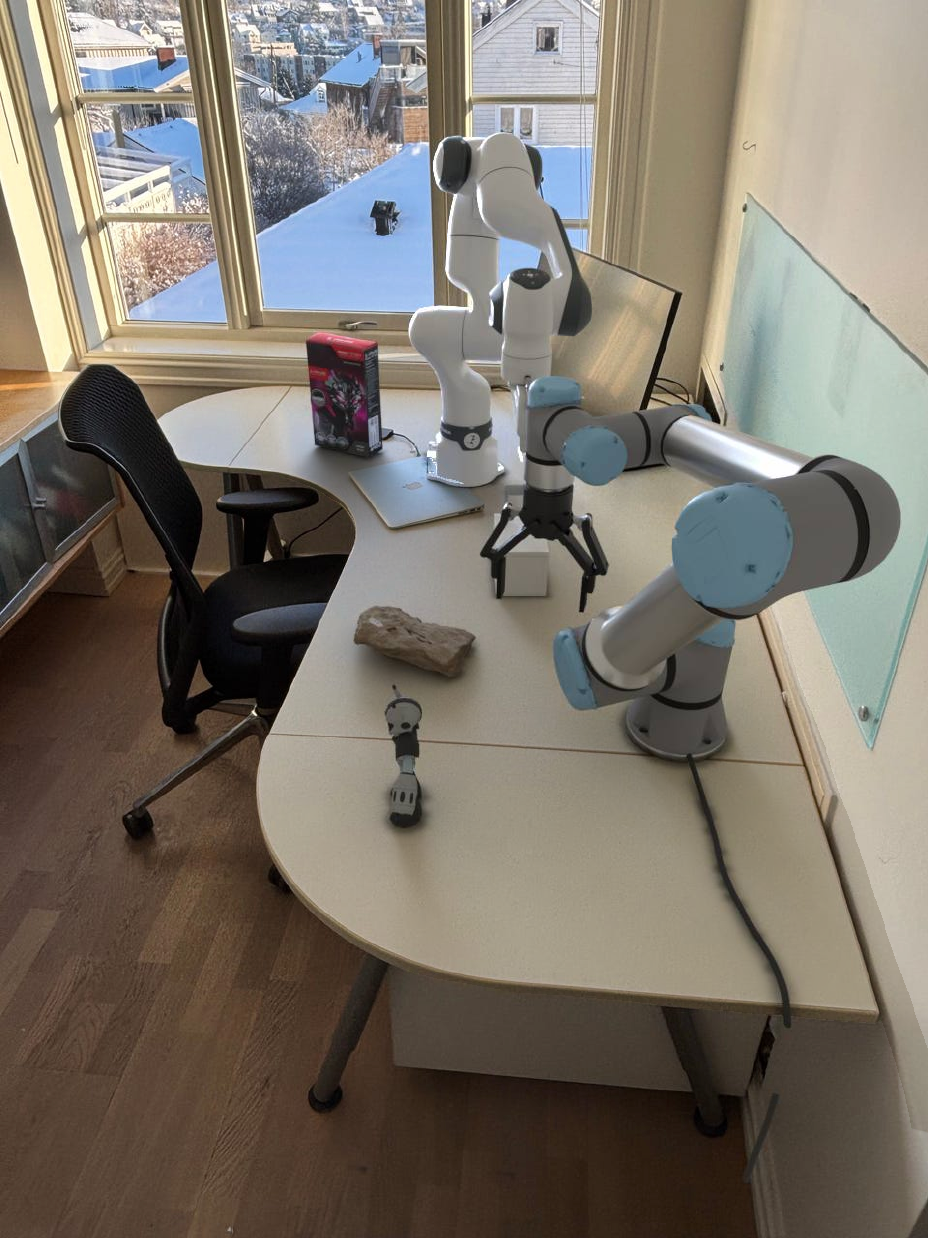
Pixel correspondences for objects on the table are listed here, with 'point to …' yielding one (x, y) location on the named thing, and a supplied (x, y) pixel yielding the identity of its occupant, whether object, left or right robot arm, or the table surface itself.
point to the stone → (413, 639)
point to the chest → (525, 575)
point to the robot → (405, 758)
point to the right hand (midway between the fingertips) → (541, 601)
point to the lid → (529, 544)
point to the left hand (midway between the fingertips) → (522, 440)
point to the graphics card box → (345, 393)
